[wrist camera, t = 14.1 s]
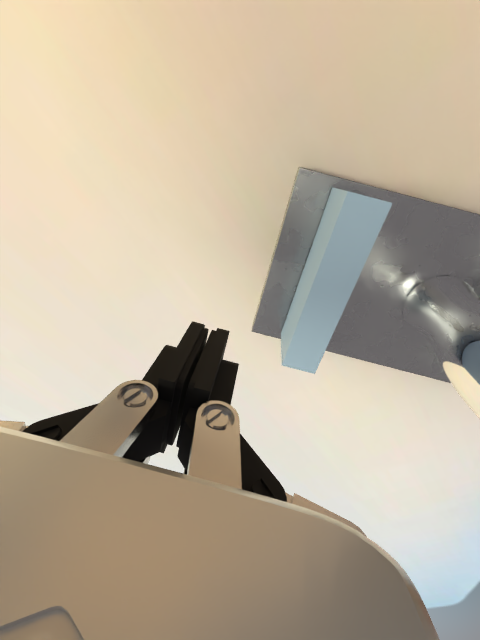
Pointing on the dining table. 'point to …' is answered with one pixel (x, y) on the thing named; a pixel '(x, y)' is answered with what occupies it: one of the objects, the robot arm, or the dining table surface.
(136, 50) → the dining table surface
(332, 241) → the bar
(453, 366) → the beer glass
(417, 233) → the vise base
